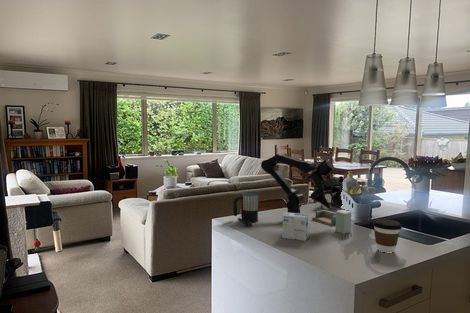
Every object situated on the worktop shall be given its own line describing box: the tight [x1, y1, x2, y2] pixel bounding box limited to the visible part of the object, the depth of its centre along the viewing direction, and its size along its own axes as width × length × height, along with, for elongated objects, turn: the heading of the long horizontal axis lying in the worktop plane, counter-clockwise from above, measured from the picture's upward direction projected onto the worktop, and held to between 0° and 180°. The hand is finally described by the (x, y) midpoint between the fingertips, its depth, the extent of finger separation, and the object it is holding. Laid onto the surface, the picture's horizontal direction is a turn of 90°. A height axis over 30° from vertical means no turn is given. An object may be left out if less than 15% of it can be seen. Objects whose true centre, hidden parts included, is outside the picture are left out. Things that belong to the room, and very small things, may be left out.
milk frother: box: [232, 191, 260, 227], centre depth 175 cm, size 14×16×15 cm
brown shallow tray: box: [311, 209, 336, 226], centre depth 179 cm, size 10×12×4 cm
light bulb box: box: [281, 211, 309, 242], centre depth 151 cm, size 11×7×11 cm, turn 71°
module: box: [334, 209, 352, 235], centre depth 161 cm, size 5×5×10 cm
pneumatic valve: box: [321, 194, 335, 211], centre depth 207 cm, size 6×12×12 cm, turn 51°
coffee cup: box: [372, 218, 403, 254], centre depth 136 cm, size 11×11×12 cm
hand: (335, 206), depth 164 cm, fingers open, 9 cm apart
